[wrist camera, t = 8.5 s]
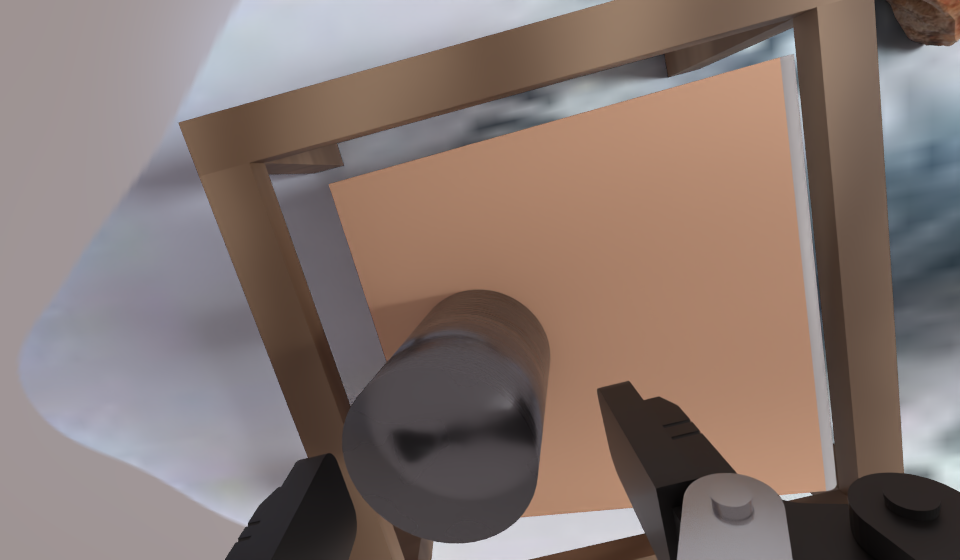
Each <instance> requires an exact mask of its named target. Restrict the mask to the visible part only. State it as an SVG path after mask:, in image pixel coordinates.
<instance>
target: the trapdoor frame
mask: <svg viewBox="0 0 960 560" xmlns="http://www.w3.org/2000/svg"><path fill="white" fill-rule="evenodd" d="M791 28H794V38H795V48H796V58H797V68H798V78H799V88H800V98H801V108H802V118H803V129H804V139H805V149H806V159H807V169H808V179H809V189H810V199H811V209H812V219H813V229H814V240H815V250H816V260H817V270H818V280H819V290H820V300H821V310H822V320H823V330H824V340H825V350H826V361H827V371H828V381H829V391H830V401H831V411H832V421H833V431H834V441H835V444H833V452H834V462H835V472H836V482H837V485H836V487H835V488H834V489H832V490H829V491H820V492H810V493H811V494H812V496H808V497H803V498H799V499H794V500H790V502H797V503H819V504H848V497H847V496H848V489H849V487H850V485H851V484H852V483H853V482H854V481H856V480H857V479H859V478H861V477H863V476H866V475H870V474H874V473H886V472H893V473H904V467H903V451H902V435H901V419H900V403H899V387H898V371H897V355H896V339H895V323H894V307H893V291H892V275H891V259H890V243H889V227H888V211H887V195H886V179H885V163H884V147H883V132H882V116H881V100H880V84H879V68H878V52H877V36H876V20H875V4H874V0H614V1H611V2H607V3H604V4H600V5H596V6H593V7H589V8H586V9H582V10H579V11H575V12H571V13H568V14H564V15H561V16H557V17H554V18H550V19H547V20H543V21H539V22H536V23H532V24H529V25H525V26H522V27H518V28H514V29H511V30H507V31H504V32H500V33H497V34H493V35H489V36H486V37H482V38H479V39H475V40H472V41H468V42H464V43H461V44H457V45H454V46H450V47H447V48H443V49H439V50H436V51H432V52H429V53H425V54H422V55H418V56H415V57H411V58H407V59H404V60H400V61H397V62H393V63H390V64H386V65H382V66H379V67H375V68H372V69H368V70H365V71H361V72H357V73H354V74H350V75H347V76H343V77H340V78H336V79H332V80H329V81H325V82H322V83H318V84H315V85H311V86H308V87H304V88H300V89H297V90H293V91H290V92H286V93H283V94H279V95H275V96H272V97H268V98H265V99H261V100H258V101H254V102H250V103H247V104H243V105H240V106H236V107H233V108H229V109H225V110H222V111H218V112H215V113H211V114H208V115H204V116H200V117H197V118H193V119H190V120H186V121H183V122H179V126H180V128H181V131H182V133H183V136H184V139H185V141H186V144H187V146H188V149H189V152H190V154H191V157H192V159H193V162H194V164H195V167H196V170H197V172H198V175H199V177H200V180H201V183H202V185H203V188H204V190H205V193H206V195H207V198H208V201H209V203H210V206H211V208H212V211H213V214H214V216H215V219H216V221H217V224H218V226H219V229H220V232H221V234H222V237H223V239H224V242H225V245H226V247H227V250H228V252H229V255H230V257H231V260H232V263H233V265H234V268H235V270H236V273H237V276H238V278H239V281H240V283H241V286H242V288H243V291H244V294H245V296H246V299H247V301H248V304H249V307H250V309H251V312H252V314H253V317H254V319H255V322H256V325H257V327H258V330H259V332H260V335H261V338H262V340H263V343H264V345H265V348H266V350H267V353H268V356H269V358H270V361H271V363H272V366H273V369H274V371H275V374H276V376H277V379H278V382H279V384H280V387H281V389H282V392H283V394H284V397H285V400H286V402H287V405H288V407H289V410H290V413H291V415H292V418H293V420H294V423H295V425H296V428H297V431H298V433H299V436H300V438H301V441H302V444H303V446H304V449H305V451H306V454H307V456H308V458H310V457H314V456H319V455H323V454H327V453H331V454H333V455H334V456H335V458H336V460H337V462H338V465H339V467H340V470H341V473H342V475H343V478H344V481H345V483H346V486H347V489H348V492H349V494H350V497H351V500H352V502H353V505H354V508H355V512H356V517H357V533H356V538H355V541H354V545H353V548H352V551H351V554H350V557H349V560H431V558H432V549H433V541H431V540H427V539H424V538H420V537H417V536H414V535H412V534H410V533H408V532H405V531H403V530H401V529H400V528H398V527H396V526H394V525H392V524H391V523H390V522H388V521H387V520H385V519H384V518H383V517H381V516H380V515H379V514H378V513H377V512H376V511H375V510H373V509H372V508H371V506H370V505H369V504H368V503H367V502H366V501H365V500H364V499H363V497H362V496H361V495H360V493H359V492H358V491H357V489H356V487H355V485H354V484H353V482H352V480H351V478H350V476H349V473H348V471H347V468H346V465H345V461H344V457H343V450H342V433H343V426H344V423H345V419H346V416H347V414H348V412H349V409H350V407H351V406H350V404H349V401H348V398H347V395H346V392H345V389H344V387H343V384H342V381H341V378H340V375H339V372H338V370H337V367H336V364H335V361H334V358H333V355H332V353H331V350H330V347H329V344H328V341H327V339H326V336H325V333H324V330H323V327H322V324H321V322H320V319H319V316H318V313H317V310H316V307H315V305H314V302H313V299H312V296H311V293H310V290H309V288H308V285H307V282H306V279H305V276H304V274H303V271H302V268H301V265H300V262H299V259H298V257H297V254H296V251H295V248H294V245H293V242H292V240H291V237H290V234H289V231H288V228H287V226H286V223H285V220H284V217H283V214H282V211H281V209H280V206H279V203H278V200H277V197H276V194H275V192H274V189H273V186H272V183H271V180H270V177H269V175H273V174H310V173H318V172H321V171H325V170H329V169H333V168H336V167H340V166H344V164H343V161H342V158H341V155H340V152H339V148H338V145H337V143H340V142H344V141H347V140H351V139H355V138H358V137H362V136H366V135H369V134H373V133H377V132H380V131H384V130H387V129H391V128H395V127H398V126H402V125H406V124H409V123H413V122H417V121H420V120H424V119H428V118H431V117H435V116H439V115H442V114H446V113H450V112H453V111H457V110H461V109H464V108H468V107H472V106H475V105H479V104H482V103H486V102H490V101H493V100H497V99H501V98H504V97H508V96H512V95H515V94H519V93H523V92H526V91H530V90H534V89H537V88H541V87H545V86H548V85H552V84H556V83H559V82H563V81H566V80H570V79H574V78H577V77H581V76H585V75H588V74H592V73H596V72H599V71H603V70H607V69H610V68H614V67H618V66H621V65H625V64H629V63H632V62H636V61H640V60H643V59H647V58H651V57H654V56H658V55H661V54H664V55H665V61H666V67H667V74H668V77H672V76H675V75H679V74H683V73H686V72H690V71H694V70H697V69H701V68H703V67H705V66H707V65H710V64H712V63H714V62H716V61H719V60H721V59H723V58H725V57H728V56H730V55H732V54H734V53H737V52H739V51H741V50H743V49H746V48H748V47H750V46H752V45H755V44H757V43H759V42H761V41H764V40H766V39H768V38H770V37H773V36H775V35H777V34H779V33H782V32H784V31H786V30H788V29H791ZM530 560H658V559H657V557H656V555H655V553H654V551H653V549H652V547H651V545H650V542H649V540H648V538H647V536H646V534H640V535H636V536H631V537H627V538H623V539H618V540H614V541H609V542H605V543H601V544H596V545H592V546H587V547H583V548H579V549H574V550H570V551H565V552H561V553H557V554H552V555H548V556H543V557H539V558H534V559H530Z"/></svg>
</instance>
